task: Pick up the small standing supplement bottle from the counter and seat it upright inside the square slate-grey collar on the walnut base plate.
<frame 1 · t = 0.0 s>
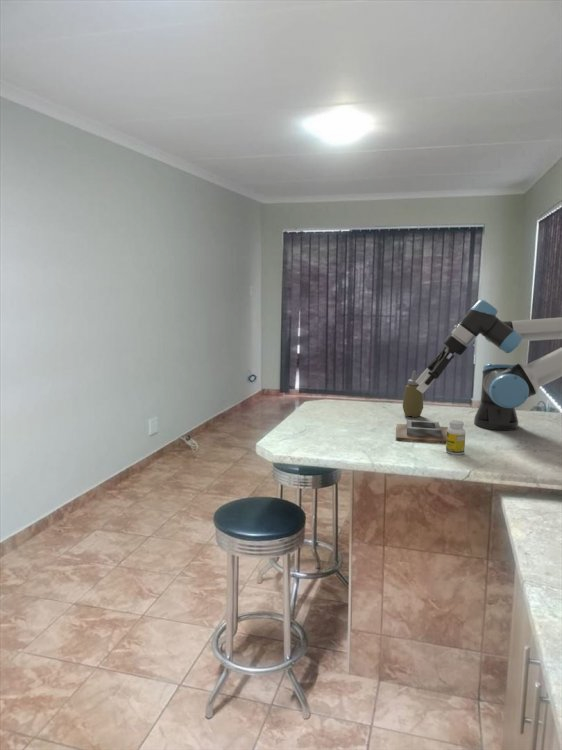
hand: (418, 387, 189), 15 cm above the countertop, tool tilted 35°, fingers open, 13 cm apart
squeeze bottle: (412, 416, 212), on the countertop
socket holder: (422, 434, 185), on the countertop
supplement bottle: (454, 453, 166), on the countertop
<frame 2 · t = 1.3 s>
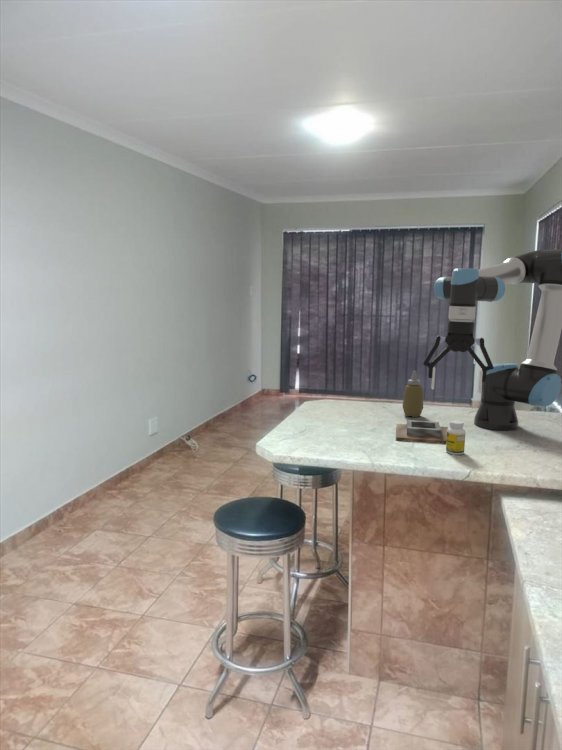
hand: (455, 390, 163), 19 cm above the countertop, tool pointing down, fingers open, 13 cm apart
nothing on the countertop moved.
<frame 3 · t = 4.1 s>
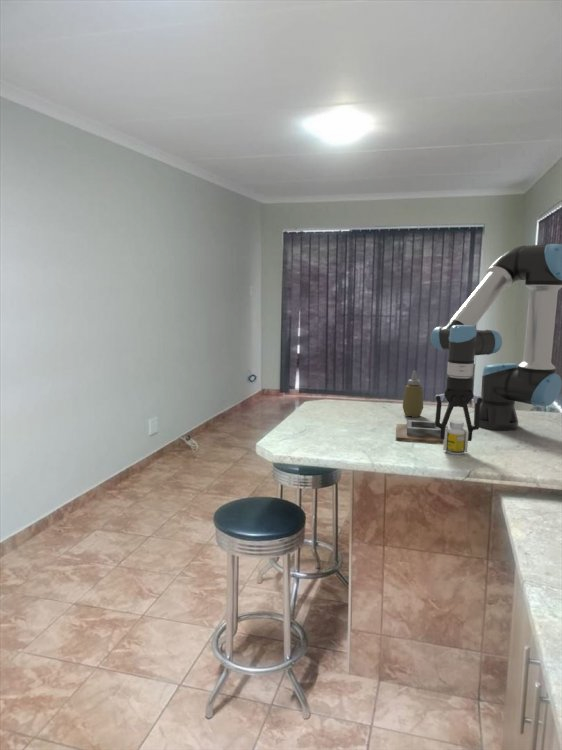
hand: (455, 449, 166), 1 cm above the countertop, tool pointing down, fingers closed on supplement bottle, 5 cm apart
supplement bottle: (454, 453, 166), on the countertop, touching gripper
everything else where it was.
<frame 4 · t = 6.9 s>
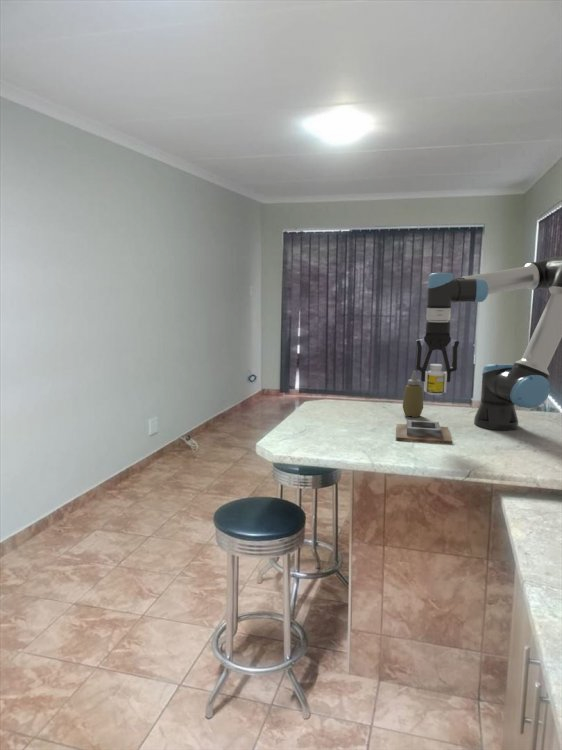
hand: (434, 391, 177), 16 cm above the countertop, tool pointing down, fingers closed on supplement bottle, 5 cm apart
supplement bottle: (434, 394, 177), point 15 cm above the countertop, touching gripper
everything else where it was.
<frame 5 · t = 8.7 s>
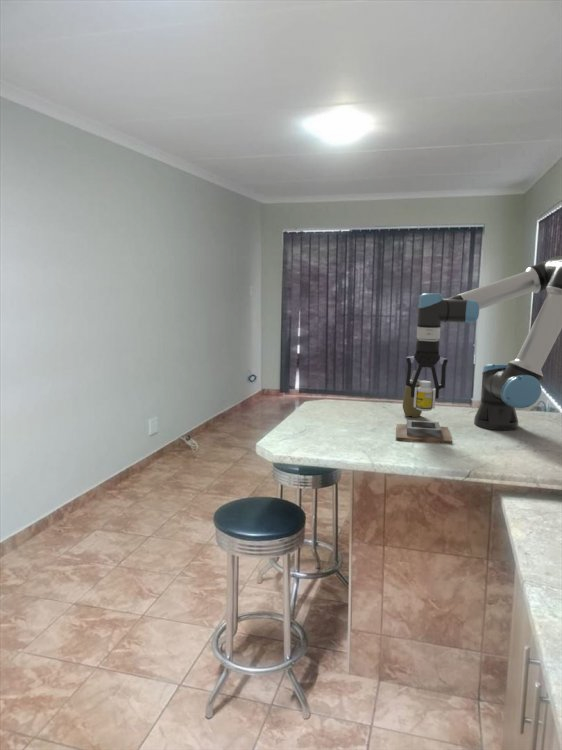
hand: (423, 407, 183), 10 cm above the countertop, tool pointing down, fingers closed on supplement bottle, 5 cm apart
supplement bottle: (423, 409, 183), point 9 cm above the countertop, touching gripper
everything else where it was.
when the fingers open (4 cm above the countertop, at t = 10.1 s): supplement bottle drops 2 cm, resting on socket holder.
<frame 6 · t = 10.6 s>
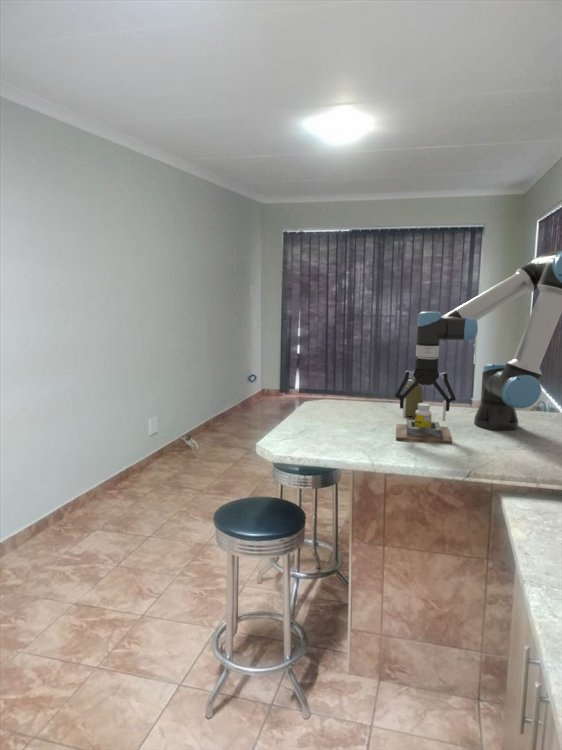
hand: (423, 419, 184), 6 cm above the countertop, tool pointing down, fingers open, 13 cm apart
supplement bottle: (422, 432, 185), point 1 cm above the countertop, touching socket holder
everything else where it was.
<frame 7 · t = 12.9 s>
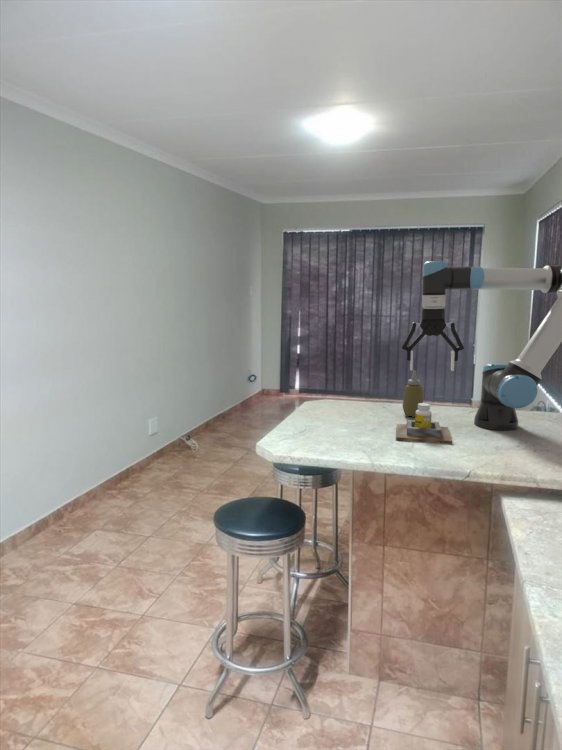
hand: (431, 370, 183), 22 cm above the countertop, tool pointing down, fingers open, 13 cm apart
nothing on the countertop moved.
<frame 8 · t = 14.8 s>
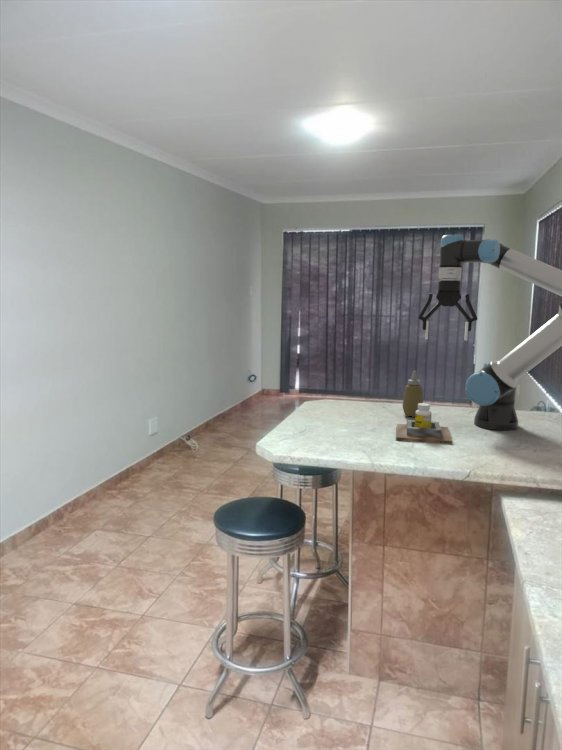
hand: (445, 339, 193), 32 cm above the countertop, tool pointing down, fingers open, 13 cm apart
nothing on the countertop moved.
at the end: supplement bottle 0.1 cm off-centre on the socket holder, point 0.8 cm above the socket holder's base; supplement bottle tilted 0°; the gripper is holding nothing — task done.
